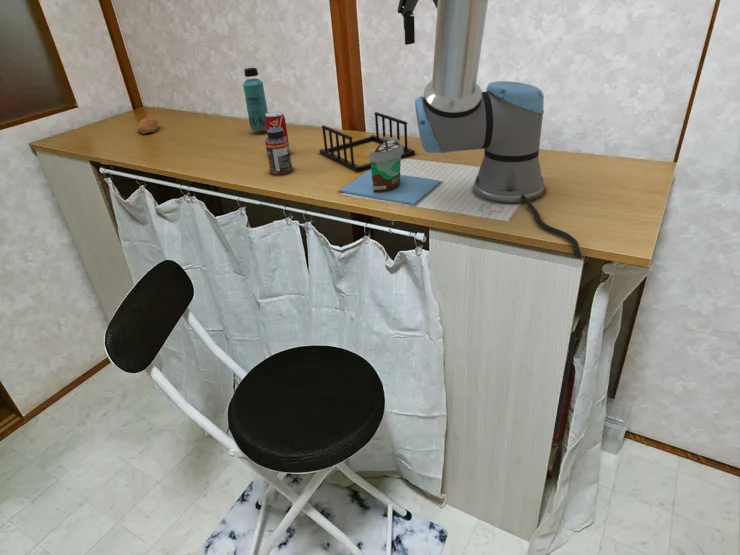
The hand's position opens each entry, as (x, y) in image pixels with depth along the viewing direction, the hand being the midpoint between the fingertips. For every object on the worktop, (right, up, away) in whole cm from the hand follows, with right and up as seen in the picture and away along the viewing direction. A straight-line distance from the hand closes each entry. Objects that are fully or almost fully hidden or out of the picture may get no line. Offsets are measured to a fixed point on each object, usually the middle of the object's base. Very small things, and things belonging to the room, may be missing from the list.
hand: (426, 46), depth 134 cm
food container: (-9, -37, -7) cm, 39 cm away
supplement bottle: (-38, -30, +7) cm, 49 cm away
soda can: (-40, -23, +20) cm, 50 cm away
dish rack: (-15, -24, +14) cm, 32 cm away
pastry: (-92, -7, +51) cm, 105 cm away
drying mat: (-9, -37, -7) cm, 39 cm away
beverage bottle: (-50, -11, +40) cm, 65 cm away
